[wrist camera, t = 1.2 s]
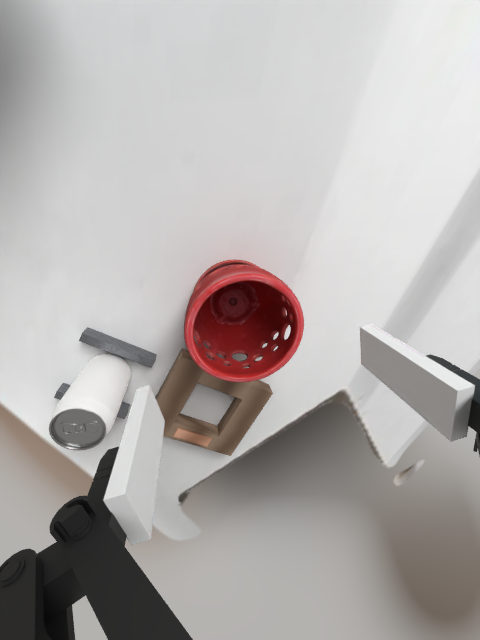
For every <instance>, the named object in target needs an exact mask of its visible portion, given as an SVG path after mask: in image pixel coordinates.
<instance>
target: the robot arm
mask: <svg viewBox="0 0 480 640" xmlns="http://www.w3.org/2000/svg"><path fill="white" fill-rule="evenodd" d="M360 343H361V364H362V365H363V366H364V367H365V368H367V369H368V370H369V371H370V372H371V373H372V374H373V375H375V376H376V377H377V378H378V379H379V380H380V381H382V382H383V383H384V384H385V385H386V386H387V387H388V388H390V389H391V390H392V391H393V392H394V393H395V394H397V395H398V396H399V397H400V398H401V399H402V400H403V401H405V402H406V403H407V404H408V405H409V406H410V407H411V408H413V409H414V410H415V411H416V412H417V413H418V414H420V415H421V416H422V417H423V418H424V419H425V420H426V421H428V422H429V423H430V424H431V425H432V426H433V427H435V428H436V429H437V430H438V431H439V432H440V433H441V434H443V435H444V436H445V437H446V438H447V439H448V440H450V441H454V440H458V439H461V438H464V437H466V436H467V432H468V426H470V427H471V428H472V429H474V430H475V431H476V432H477V433H476V439H475V445H474V451H475V452H477V448H478V451H479V455H480V379H478V378H476V377H474V376H473V375H471V374H469V373H467V372H466V371H464V370H461V369H460V368H459V367H457V366H455V365H452V364H451V363H450V362H448V361H446V360H444V359H443V358H440V357H437V356H433V355H427V356H425V355H423V354H421V353H420V352H418V351H416V350H415V349H413V348H411V347H410V346H408V345H406V344H405V343H403V342H401V341H400V340H398V339H396V338H395V337H393V336H391V335H390V334H388V333H386V332H385V331H383V330H381V329H380V328H378V327H376V326H375V325H373V324H368V325H364V326H361V327H360ZM164 424H165V420H164V418H163V415H162V413H161V410H160V408H159V406H158V403H157V401H156V398H155V396H154V394H153V391H152V389H151V386H150V385H148V386H145V387H141V388H138V389H137V390H136V393H135V396H134V400H133V403H132V406H131V410H130V413H129V416H128V420H127V423H126V426H125V430H124V433H123V436H122V440H121V443H120V446H119V447H116V448H113V449H109V450H108V451H107V452H106V453H105V455H104V456H103V457H102V459H101V460H100V463H99V465H98V468H97V473H96V474H95V476H94V479H93V480H94V481H93V482H92V485H91V488H90V490H89V493H88V496H79V497H76V498H74V499H72V500H70V501H69V502H67V503H66V504H64V505H63V506H62V508H61V509H60V510H58V512H57V513H56V515H55V516H54V518H53V519H52V522H51V524H50V533H51V535H52V536H53V537H54V538H55V539H56V541H57V542H56V543H54V544H52V545H51V546H49V547H48V548H46V549H44V550H43V551H41V552H39V553H38V554H37V553H36V552H35V551H34V550H31V549H25V550H21V551H19V552H18V553H16V554H14V555H13V556H11V557H10V558H9V559H8V560H6V561H5V562H4V563H3V564H2V566H1V567H0V640H75V634H74V623H73V613H72V604H74V603H75V602H76V601H78V600H79V599H81V598H82V597H84V596H85V595H86V596H87V599H88V601H89V602H90V604H91V606H92V608H93V610H94V612H95V614H96V616H97V618H98V620H99V622H100V624H101V626H102V628H103V630H104V632H105V634H106V636H107V638H108V640H193V639H192V638H191V637H190V635H189V634H188V633H187V631H186V630H185V628H184V627H183V626H182V624H181V623H180V622H179V620H178V619H177V618H176V616H175V615H174V613H173V612H172V611H171V610H170V608H169V607H168V605H167V604H166V603H165V601H164V600H163V598H162V597H161V596H160V594H159V593H158V592H157V590H156V589H155V588H154V586H153V585H152V583H151V582H150V581H149V579H148V578H147V577H146V575H145V574H144V572H143V571H142V570H141V568H140V567H139V566H138V565H137V563H136V562H135V560H134V559H133V558H132V556H131V555H130V553H129V552H128V551H127V549H126V548H125V547H124V546H125V541H126V537H127V539H128V540H129V542H130V543H131V545H134V544H137V543H140V542H143V541H146V540H150V539H151V534H152V526H153V517H154V509H155V500H156V492H157V483H158V475H159V466H160V458H161V449H162V441H163V432H164Z"/></svg>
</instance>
